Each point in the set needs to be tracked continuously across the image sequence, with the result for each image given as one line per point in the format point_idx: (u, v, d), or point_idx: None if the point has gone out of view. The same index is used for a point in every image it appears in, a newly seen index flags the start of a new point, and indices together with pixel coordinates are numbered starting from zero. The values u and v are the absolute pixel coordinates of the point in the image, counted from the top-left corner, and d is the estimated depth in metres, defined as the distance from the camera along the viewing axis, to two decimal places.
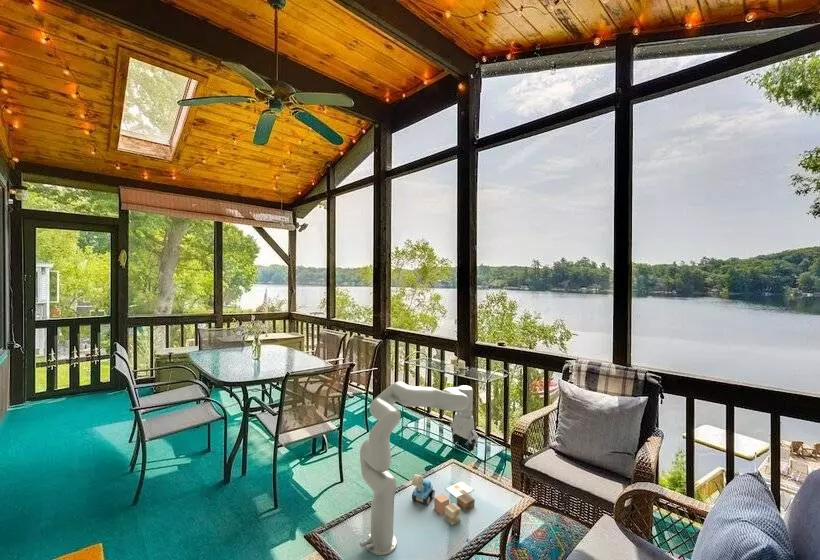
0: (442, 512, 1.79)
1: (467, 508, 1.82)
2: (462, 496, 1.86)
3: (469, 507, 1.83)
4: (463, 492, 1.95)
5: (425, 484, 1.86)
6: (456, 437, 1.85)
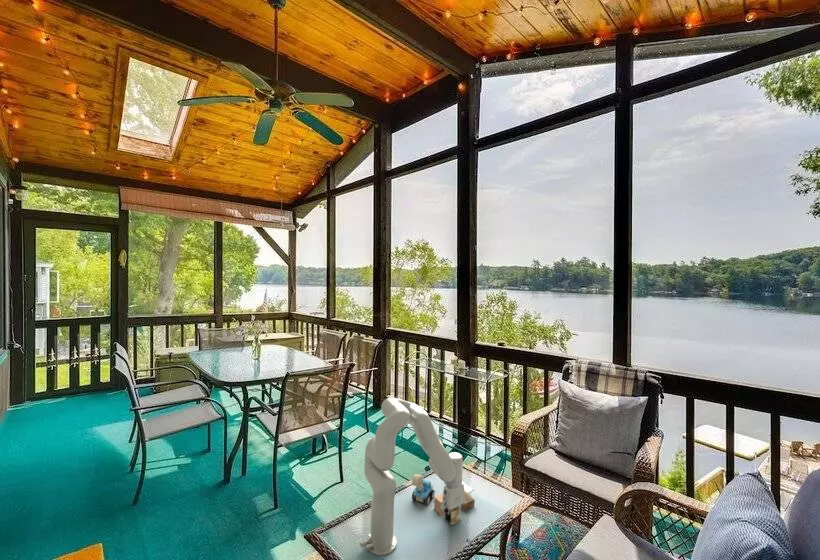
0: (442, 512, 1.79)
1: (467, 508, 1.82)
2: None
3: (469, 507, 1.83)
4: None
5: (425, 484, 1.86)
6: None
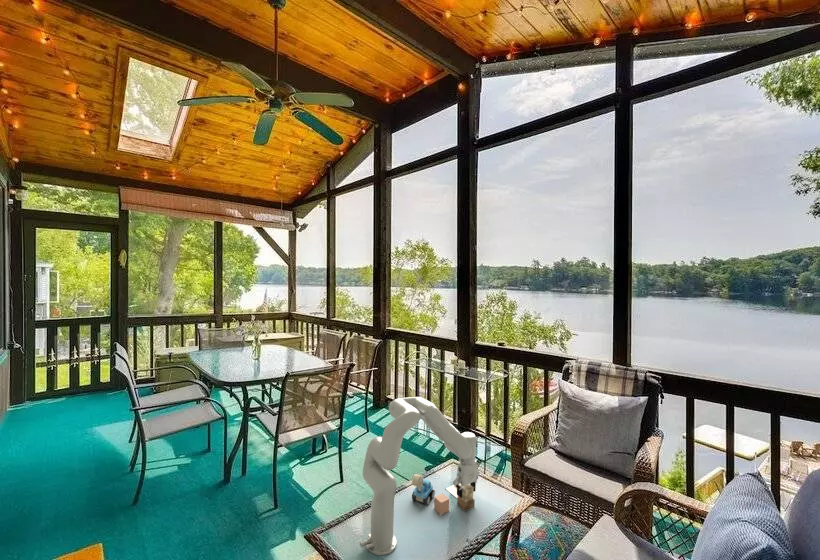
0: (442, 512, 1.79)
1: (466, 508, 1.82)
2: None
3: (469, 507, 1.82)
4: None
5: (425, 484, 1.86)
6: None
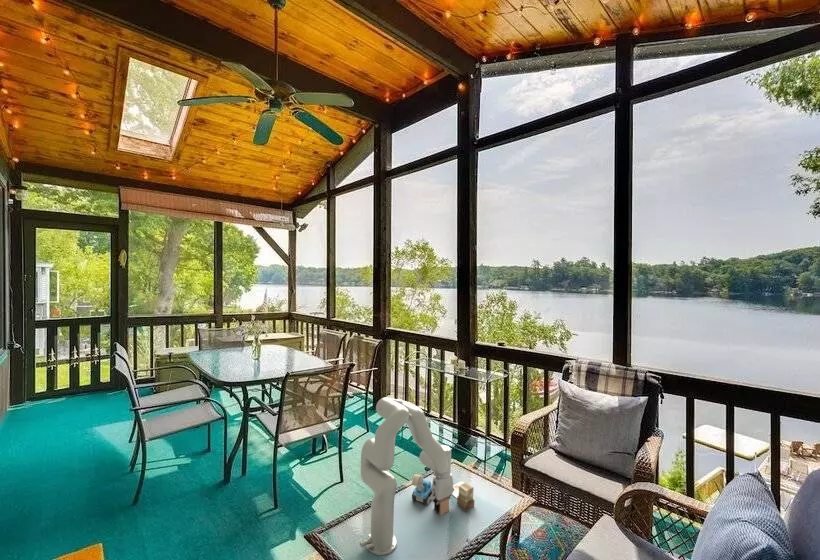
0: (442, 512, 1.79)
1: (466, 508, 1.82)
2: None
3: (469, 507, 1.82)
4: None
5: (425, 484, 1.86)
6: None
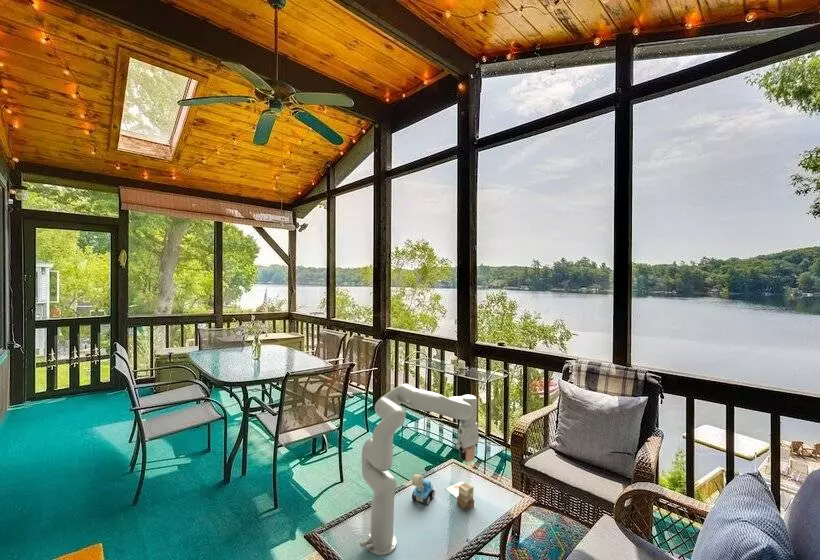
0: (468, 460, 1.81)
1: (466, 508, 1.82)
2: None
3: (468, 507, 1.82)
4: None
5: (425, 484, 1.86)
6: None
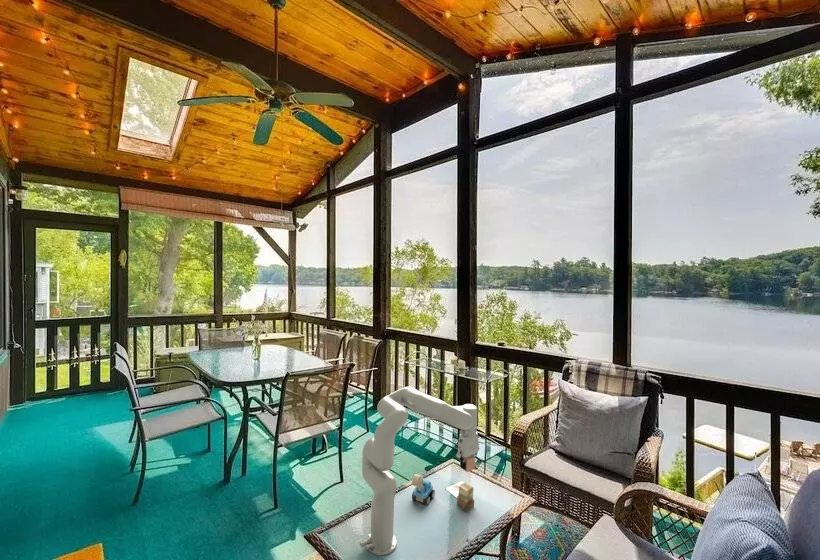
0: (468, 469, 1.81)
1: (466, 508, 1.82)
2: None
3: (468, 507, 1.82)
4: None
5: (425, 484, 1.86)
6: None
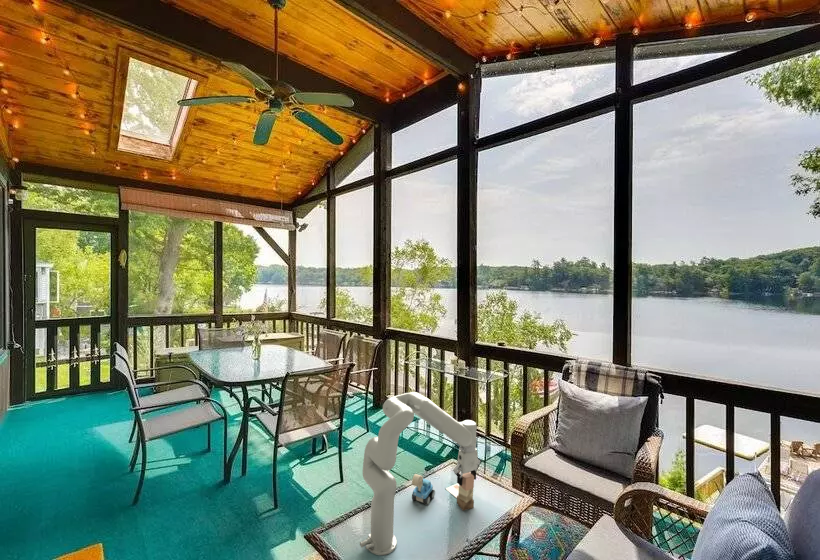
0: (467, 488, 1.81)
1: (465, 508, 1.82)
2: None
3: (468, 507, 1.83)
4: None
5: (425, 484, 1.86)
6: None
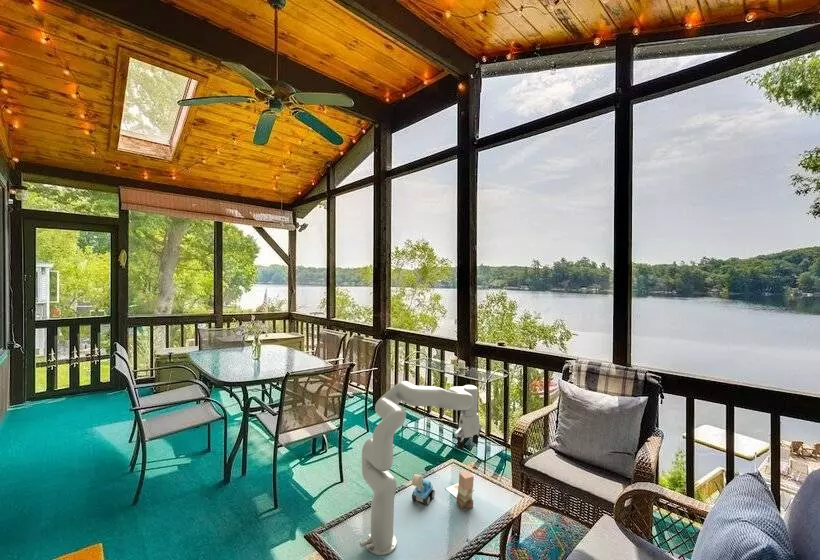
0: (465, 488, 1.82)
1: (464, 508, 1.82)
2: None
3: (467, 507, 1.83)
4: None
5: (425, 484, 1.86)
6: None
